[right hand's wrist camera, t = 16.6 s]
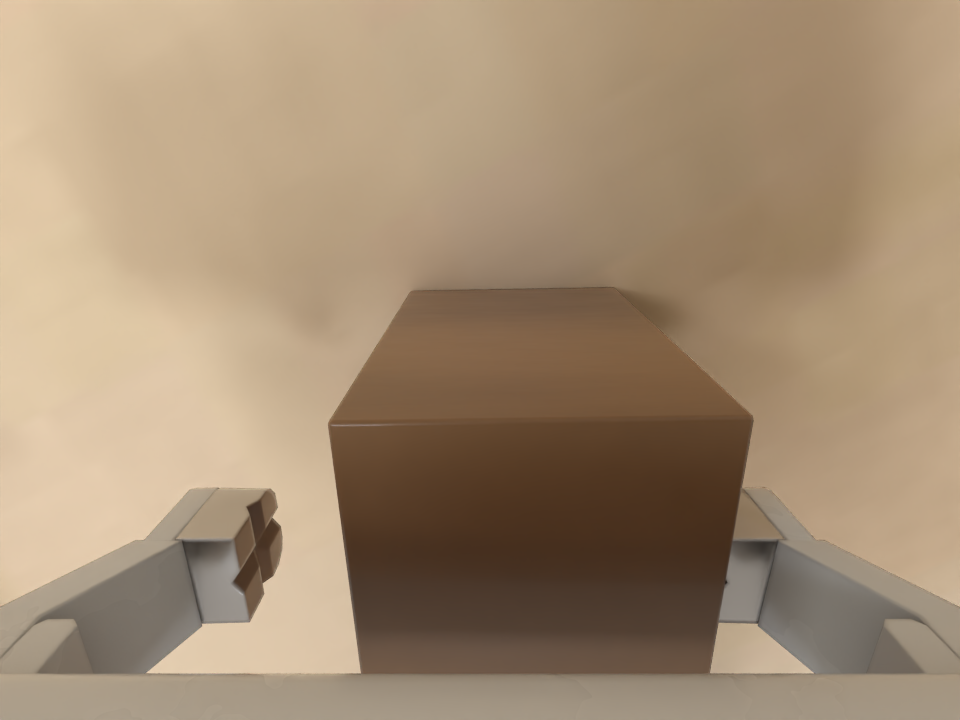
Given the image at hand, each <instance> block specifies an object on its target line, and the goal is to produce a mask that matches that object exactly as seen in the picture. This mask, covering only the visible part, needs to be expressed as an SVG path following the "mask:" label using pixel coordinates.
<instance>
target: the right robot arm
mask: <svg viewBox="0 0 960 720" xmlns="http://www.w3.org/2000/svg"><path fill="white" fill-rule="evenodd" d="M277 508H278V506H277V501H276V496H275V493H274V492H273V491H272V490H271V489H255V488H194V489H191V490H189V491H188V492H187V493H186V494H185V495H184V497H183V498H182V499H181V500H180V501H179V502H178V503H177V504H176V505H175V506H174V508H173V509H172V510H171V511H170V512H169V513H168V514H167V515H166V516H165V518H164V519H163V520H162V521H161V522H160V523H159V524H158V525H157V526H156V527H155V529H154V530H153V531H152V532H151V533H150V534H149V535H148V536H147V537H146V538H145V540H135V541H133V542H131V543H129V544H127V545H125V546H123V547H121V548H119V549H117V550H115V551H113V552H111V553H109V554H107V555H105V556H103V557H101V558H99V559H97V560H94V561H92V562H90V563H88V564H86V565H84V566H82V567H80V568H78V569H76V570H74V571H72V572H70V573H68V574H66V575H64V576H62V577H60V578H58V579H56V580H54V581H52V582H50V583H48V584H46V585H44V586H42V587H40V588H38V589H36V590H34V591H32V592H30V593H27V594H25V595H23V596H21V597H19V598H17V599H15V600H13V601H11V602H9V603H7V604H5V605H3V606H1V607H0V720H960V607H959V606H956V605H954V604H952V603H950V602H948V601H946V600H944V599H942V598H940V597H938V596H936V595H934V594H932V593H930V592H928V591H926V590H924V589H922V588H920V587H918V586H916V585H914V584H912V583H910V582H908V581H906V580H904V579H902V578H900V577H898V576H896V575H894V574H892V573H890V572H888V571H886V570H884V569H882V568H880V567H878V566H876V565H873V564H871V563H869V562H867V561H865V560H863V559H861V558H859V557H857V556H855V555H853V554H851V553H849V552H847V551H845V550H843V549H841V548H839V547H837V546H835V545H833V544H831V543H829V542H827V541H825V540H815V538H814V537H813V536H812V535H811V534H810V533H809V532H808V531H807V530H806V529H805V527H804V526H803V525H802V524H801V523H800V522H799V521H798V520H797V519H796V518H795V516H794V515H793V514H792V513H791V512H790V511H789V510H788V509H787V508H786V506H785V505H784V504H783V503H782V502H781V501H780V500H779V499H778V498H777V497H776V495H775V494H774V493H773V492H772V491H771V490H769V489H767V488H765V487H759V488H742V489H741V495H740V501H739V507H738V512H737V518H736V524H735V530H734V535H733V541H732V547H731V553H730V559H729V564H728V570H727V576H726V582H725V587H724V593H723V599H722V605H721V610H720V616H719V622H720V623H755V624H758V626H759V627H760V628H761V629H762V630H763V631H765V632H766V633H767V634H768V635H769V636H771V637H772V638H773V639H774V640H775V641H777V642H778V643H779V644H780V645H781V646H783V647H784V648H785V649H786V650H787V651H789V652H790V653H791V654H792V655H793V656H795V657H796V658H797V659H798V660H799V661H801V662H802V663H803V664H804V665H805V666H807V667H808V668H809V669H810V670H811V671H813V672H814V673H815V674H145V673H146V672H148V671H149V670H150V669H151V668H152V667H154V666H155V665H156V664H157V663H158V662H160V661H161V660H162V659H163V658H164V657H166V656H167V655H168V654H169V653H170V652H172V651H173V650H174V649H175V648H176V647H178V646H179V645H180V644H181V643H182V642H184V641H185V640H186V639H187V638H188V637H190V636H191V635H192V634H193V633H194V632H196V631H197V630H198V629H199V628H200V627H202V624H205V623H239V622H250V621H251V619H252V617H253V615H254V613H255V611H256V609H257V607H258V605H259V603H260V601H261V599H262V597H263V595H264V589H263V584H262V583H264V582H265V581H267V580H268V579H269V578H271V577H272V576H273V575H274V573H275V571H276V569H277V567H278V565H279V561H280V557H281V552H282V531H281V526H280V525H279V524H278V523H277V522H276V521H275V520H274V519H273V518H272V517H273V515H274V513H275V511H276V510H277Z"/></svg>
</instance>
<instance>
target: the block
mask: <svg viewBox="0 0 960 720" xmlns="http://www.w3.org/2000/svg"><path fill="white" fill-rule="evenodd" d="M752 426H753V417H752V415H751V414H750V413H749V412H748V411H747V410H746V409H745V408H743V407H742V406H741V405H740V404H739V403H738V402H737V401H736V400H735V399H734V398H733V397H732V396H730V395H729V394H728V393H727V392H726V391H725V390H724V389H723V388H722V387H721V386H720V385H719V384H718V383H716V382H715V381H714V380H713V379H712V378H711V377H710V376H709V375H708V374H707V373H706V372H705V371H704V370H702V369H701V368H700V367H699V366H698V365H697V364H696V363H695V362H694V361H693V360H692V359H691V358H689V357H688V356H687V355H686V354H685V353H684V352H683V351H682V350H681V349H680V348H679V347H678V346H677V345H675V344H674V343H673V342H672V341H671V340H670V339H669V338H668V337H667V336H666V335H665V334H664V333H663V332H661V331H660V330H659V329H658V328H657V327H656V326H655V325H654V324H653V323H652V322H651V321H650V320H649V319H647V318H646V317H645V316H644V315H643V314H642V313H641V312H640V311H639V310H638V309H637V308H636V307H634V306H633V305H632V304H631V303H630V302H629V301H628V300H627V299H626V298H625V297H624V296H623V295H622V294H620V293H619V292H618V291H617V290H616V289H615V288H613V287H612V288H556V289H500V290H444V291H411V292H410V293H409V295H408V297H407V298H406V300H405V301H404V303H403V304H402V306H401V308H400V309H399V311H398V312H397V314H396V316H395V317H394V319H393V320H392V322H391V324H390V325H389V327H388V328H387V330H386V332H385V333H384V335H383V336H382V338H381V339H380V341H379V343H378V344H377V346H376V347H375V349H374V351H373V352H372V354H371V355H370V357H369V359H368V360H367V362H366V363H365V365H364V366H363V368H362V370H361V371H360V373H359V374H358V376H357V378H356V379H355V381H354V382H353V384H352V386H351V387H350V389H349V390H348V392H347V394H346V395H345V397H344V398H343V400H342V401H341V403H340V405H339V406H338V408H337V409H336V411H335V413H334V414H333V416H332V417H331V419H330V421H329V423H328V428H329V436H330V443H331V451H332V458H333V466H334V473H335V481H336V488H337V496H338V503H339V511H340V518H341V526H342V534H343V541H344V549H345V556H346V564H347V571H348V579H349V586H350V594H351V601H352V609H353V616H354V624H355V631H356V639H357V646H358V654H359V661H360V669H361V674H710V668H711V662H712V657H713V651H714V645H715V639H716V634H717V628H718V622H719V616H720V610H721V605H722V599H723V593H724V587H725V582H726V576H727V570H728V564H729V559H730V553H731V547H732V541H733V535H734V530H735V524H736V518H737V512H738V507H739V501H740V495H741V489H742V484H743V478H744V472H745V466H746V460H747V455H748V449H749V443H750V437H751V432H752Z"/></svg>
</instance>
